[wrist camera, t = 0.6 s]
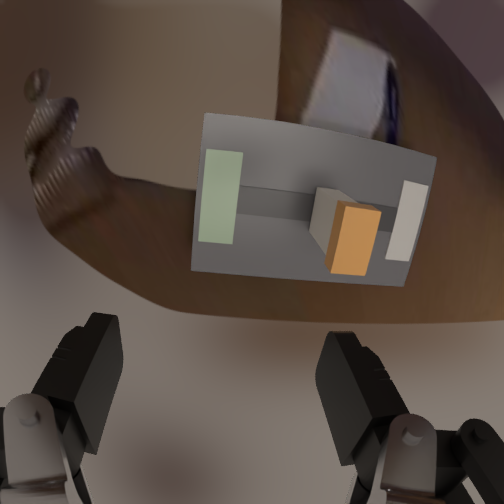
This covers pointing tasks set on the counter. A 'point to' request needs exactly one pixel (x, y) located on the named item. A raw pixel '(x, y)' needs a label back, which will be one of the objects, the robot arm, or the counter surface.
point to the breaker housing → (300, 198)
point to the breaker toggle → (344, 231)
